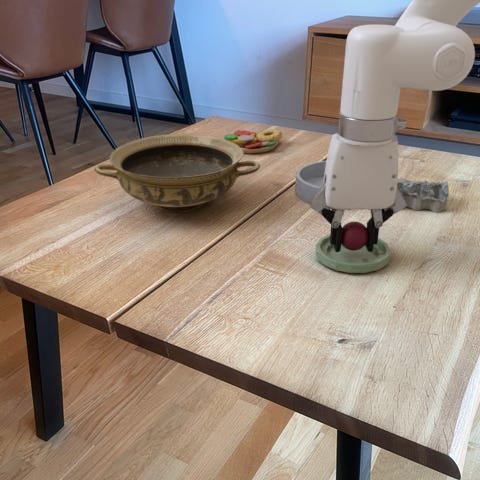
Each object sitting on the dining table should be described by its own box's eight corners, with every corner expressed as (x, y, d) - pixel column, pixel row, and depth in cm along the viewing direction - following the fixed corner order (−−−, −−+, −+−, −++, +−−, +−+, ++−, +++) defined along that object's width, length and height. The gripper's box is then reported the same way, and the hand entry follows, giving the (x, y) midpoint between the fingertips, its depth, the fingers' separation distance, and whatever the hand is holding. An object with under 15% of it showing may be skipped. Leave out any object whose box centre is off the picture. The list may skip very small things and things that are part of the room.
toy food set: (286, 142, 138) (287, 128, 136) (269, 157, 128) (269, 143, 126) (236, 137, 142) (236, 124, 140) (216, 152, 132) (216, 138, 130)
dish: (374, 175, 117) (376, 159, 115) (393, 208, 103) (396, 190, 101) (292, 176, 117) (293, 160, 115) (299, 209, 103) (300, 191, 101)
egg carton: (385, 208, 103) (388, 187, 101) (389, 193, 109) (392, 173, 106) (446, 214, 100) (450, 192, 98) (446, 199, 106) (450, 178, 104)
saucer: (380, 241, 91) (381, 231, 90) (395, 275, 82) (397, 264, 81) (312, 242, 91) (313, 232, 90) (320, 275, 82) (320, 264, 81)
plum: (364, 242, 88) (367, 216, 85) (369, 255, 84) (372, 228, 82) (336, 242, 88) (338, 217, 85) (340, 255, 84) (342, 229, 82)
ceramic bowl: (89, 233, 95) (78, 177, 90) (111, 184, 115) (104, 135, 109) (263, 229, 96) (264, 173, 90) (256, 180, 116) (256, 132, 110)
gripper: (421, 119, 79) (401, 237, 89) (302, 120, 79) (296, 237, 89) (436, 134, 72) (413, 259, 83) (307, 135, 73) (300, 259, 83)
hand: (352, 247), depth 86 cm, fingers closed on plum, 4 cm apart
